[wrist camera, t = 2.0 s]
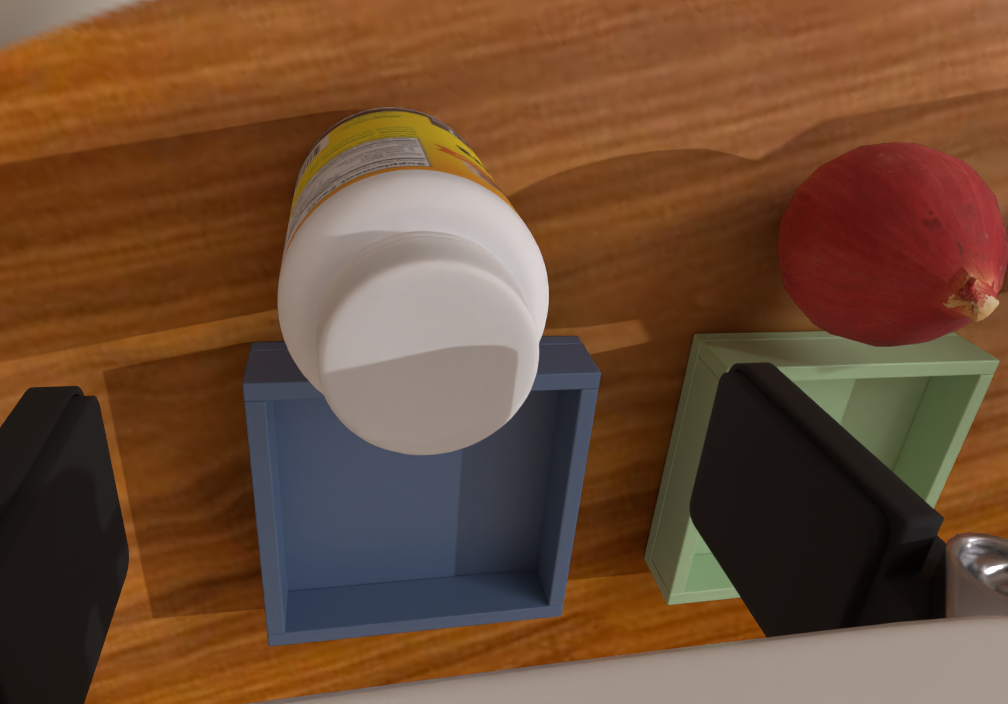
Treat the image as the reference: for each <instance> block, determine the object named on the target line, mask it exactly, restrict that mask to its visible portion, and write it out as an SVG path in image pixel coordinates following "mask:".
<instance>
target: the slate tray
mask: <svg viewBox="0 0 1008 704" xmlns="http://www.w3.org/2000/svg"><path fill="white" fill-rule="evenodd" d="M600 377H601V372H600V370H599V369H598V367H597V366H596V364H595V362H594V361H593V359H592V358H591V356H590V354H589V353H588V351H587V350H586V348H585V346H584V345H583V344H582V342H581V340H580V339H579V337H578V336H550V337H541V339H540V342H539V362H538V369H537V374H536V377H535V380H534V383H533V385H532V388H531V390H530V392H529V394H528V396H527V398H526V399H525V401H524V402H523V404H522V405H521V407H520V408H519V409H518V411H517V412H516V413H515V414H514V416H513V417H512V418H511V419H510V420H509V421H508V422H507V423H506V424H505V425H503V426H502V427H501V428H500V429H498V430H497V431H495V432H494V433H493V434H491V435H490V436H488V437H487V438H485V439H483V440H481V441H479V442H477V443H475V444H473V445H471V446H468V447H465V448H462V449H459V450H456V451H452V452H448V453H442V454H435V455H408V454H403V453H398V452H394V451H389V450H386V449H383V448H380V447H377V446H375V445H373V444H371V443H369V442H367V441H365V440H363V439H362V438H360V437H359V436H357V435H356V434H354V433H353V432H352V431H350V430H349V429H348V428H347V427H346V426H345V425H344V424H343V423H342V422H341V421H340V420H339V418H338V417H337V416H336V415H335V413H334V412H333V411H332V410H331V408H330V405H329V404H328V403H327V401H326V399H325V396H324V395H323V394H322V393H321V392H320V391H318V390H317V389H316V388H315V387H314V386H313V385H312V384H311V383H310V382H309V380H308V379H307V378H306V377H305V376H304V375H303V374H302V372H301V371H300V369H299V368H298V366H297V365H296V363H295V362H294V360H293V358H292V357H291V355H290V353H289V351H288V348H287V345H286V343H285V342H253V343H251V346H250V351H249V355H248V360H247V365H246V369H245V374H244V379H243V383H242V387H243V397H244V407H245V417H246V427H247V437H248V447H249V457H250V467H251V477H252V487H253V497H254V507H255V517H256V527H257V537H258V547H259V557H260V567H261V577H262V587H263V597H264V607H265V617H266V627H267V636H268V645H269V646H278V645H288V644H297V643H307V642H317V641H326V640H336V639H346V638H355V637H365V636H374V635H384V634H394V633H403V632H413V631H422V630H432V629H442V628H451V627H461V626H470V625H480V624H490V623H499V622H509V621H518V620H528V619H538V618H547V617H557V616H561V615H562V609H563V603H564V597H565V591H566V584H567V578H568V572H569V566H570V560H571V554H572V547H573V541H574V535H575V529H576V523H577V517H578V511H579V504H580V498H581V492H582V486H583V480H584V474H585V467H586V461H587V455H588V449H589V443H590V437H591V430H592V424H593V418H594V412H595V406H596V400H597V394H598V388H599V383H600Z"/></svg>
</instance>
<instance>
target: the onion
mask: <svg viewBox="0 0 1008 704" xmlns="http://www.w3.org/2000/svg"><path fill="white" fill-rule="evenodd" d="M777 250H778V259H779V265H780V269H781V274H782V279H783V284H784V288H785V290H786V291H787V293H788V294H789V295H790V297H791V298H792V299H793V301H794V302H795V304H796V305H797V306H798V307H799V308H800V309H801V310H802V311H803V313H804V314H805V315H806V316H807V317H808V318H809V319H810V320H811V322H812V323H813V324H814V325H816V326H818V327H819V328H821V329H823V330H824V331H826V332H828V333H829V334H832V335H835V336H839V337H842V338H846V339H850V340H853V341H857V342H860V343H864V344H867V345H871V346H875V347H894V346H902V345H911V344H920V343H924V342H929V341H932V340H935V339H937V338H940V337H942V336H944V335H946V334H949V333H951V332H953V331H956V330H958V329H960V328H963V327H964V326H966V325H967V324H968V323H970V322H971V321H972V320H974V321H976V322H977V321H980V320H982V319H985V318H986V317H987V316H989V315H990V314H991V313H992V312H993V311H994V310H995V308H996V307H997V306H998V304H999V300H998V292H999V291H1000V289H1001V288H1002V286H1003V281H1004V277H1005V273H1006V269H1007V264H1008V234H1007V231H1006V228H1005V225H1004V222H1003V219H1002V216H1001V213H1000V210H999V207H998V203H997V199H996V196H995V195H994V193H993V192H992V191H991V190H990V189H989V187H988V186H987V185H986V184H985V183H984V181H983V180H982V179H981V178H980V176H979V175H978V174H977V173H976V172H975V171H974V170H973V169H972V168H971V167H970V166H969V165H968V164H966V163H965V162H964V161H963V160H961V159H958V158H956V157H953V156H951V155H948V154H945V153H943V152H940V151H937V150H934V149H931V148H928V147H925V146H922V145H919V144H916V143H896V142H892V143H884V144H875V145H866V146H860V147H858V148H856V149H854V150H851V151H849V152H847V153H845V154H843V155H841V156H839V157H837V158H835V159H833V160H832V161H830V162H828V163H826V164H824V165H822V166H820V167H819V168H818V169H817V170H816V171H815V172H814V173H813V174H812V175H811V176H810V177H809V178H808V179H807V180H806V181H805V182H804V183H803V184H802V185H801V186H800V187H799V188H798V189H797V190H796V192H795V193H794V195H793V197H792V199H791V201H790V203H789V205H788V207H787V208H786V210H785V212H784V214H783V216H782V218H781V222H780V230H779V237H778V245H777Z"/></svg>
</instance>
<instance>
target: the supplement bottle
mask: <svg viewBox="0 0 1008 704" xmlns="http://www.w3.org/2000/svg"><path fill="white" fill-rule="evenodd" d="M548 303H549V286H548V277H547V273H546V268H545V264H544V261H543V257H542V255H541V252H540V250H539V247H538V245H537V243H536V242H535V240H534V238H533V236H532V234H531V232H530V231H529V229H528V228H527V226H526V225H525V223H524V222H523V220H522V219H521V217H520V216H519V214H518V213H517V212H516V210H515V209H514V208H513V206H512V205H511V203H510V202H509V201H508V199H507V198H506V196H505V195H504V193H503V192H502V191H501V189H500V188H499V187H498V185H497V184H496V182H495V180H494V179H493V178H492V177H491V175H490V174H489V173H488V171H487V170H486V169H485V167H484V166H483V164H482V163H481V162H480V160H479V159H478V157H477V156H476V155H475V153H474V152H473V150H472V149H471V148H470V147H469V146H468V144H467V143H466V142H465V141H464V140H463V139H462V138H461V137H460V136H459V135H458V134H457V133H456V132H455V131H454V130H452V129H451V128H450V127H448V126H447V125H446V124H444V123H443V122H441V121H439V120H437V119H436V118H434V117H432V116H429V115H427V114H424V113H422V112H418V111H414V110H410V109H404V108H393V107H386V108H376V109H370V110H366V111H362V112H359V113H356V114H354V115H351V116H349V117H347V118H345V119H343V120H341V121H340V122H338V123H337V124H335V125H334V126H332V127H331V128H330V129H329V130H327V131H326V132H325V133H324V134H323V135H322V136H321V137H320V138H319V139H318V140H317V142H316V143H315V144H314V145H313V147H312V148H311V150H310V151H309V153H308V154H307V156H306V158H305V160H304V162H303V164H302V166H301V169H300V171H299V175H298V179H297V182H296V187H295V192H294V197H293V202H292V207H291V213H290V218H289V224H288V229H287V235H286V242H285V247H284V253H283V259H282V264H281V270H280V276H279V284H278V314H279V322H280V327H281V331H282V334H283V338H284V341H285V343H286V345H287V348H288V351H289V353H290V355H291V357H292V358H293V360H294V362H295V363H296V365H297V366H298V368H299V369H300V371H301V372H302V374H303V375H304V376H305V377H306V378H307V379H308V380H309V382H310V383H311V384H312V385H313V386H314V387H315V388H316V389H317V390H318V391H320V392H321V393H322V394H323V395H324V396H325V399H326V401H327V403H328V404H329V405H330V408H331V410H332V411H333V412H334V413H335V415H336V416H337V417H338V418H339V420H340V421H341V422H342V423H343V424H344V425H345V426H346V427H347V428H348V429H349V430H350V431H352V432H353V433H354V434H356V435H357V436H359V437H360V438H362V439H363V440H365V441H367V442H369V443H371V444H373V445H375V446H377V447H380V448H383V449H386V450H389V451H394V452H398V453H403V454H408V455H435V454H442V453H448V452H452V451H456V450H459V449H462V448H465V447H468V446H471V445H473V444H475V443H477V442H479V441H481V440H483V439H485V438H487V437H488V436H490V435H491V434H493V433H494V432H495V431H497V430H498V429H500V428H501V427H502V426H503V425H505V424H506V423H507V422H508V421H509V420H510V419H511V418H512V417H513V416H514V414H515V413H516V412H517V411H518V409H519V408H520V407H521V405H522V404H523V402H524V401H525V399H526V398H527V396H528V394H529V392H530V390H531V388H532V385H533V383H534V380H535V377H536V374H537V369H538V362H539V342H540V339H541V337H542V334H543V331H544V327H545V323H546V318H547V313H548Z"/></svg>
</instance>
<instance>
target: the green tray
mask: <svg viewBox="0 0 1008 704" xmlns="http://www.w3.org/2000/svg"><path fill="white" fill-rule="evenodd" d="M760 362H770V363H771V364H773V365H775V366H776V367H777V368H778V369H779V370H780V371H781V372H782V373H783V374H785V375H786V376H787V377H788V378H789V379H790V380H791V381H792V382H793V383H795V384H796V385H797V386H798V387H799V388H800V389H801V390H802V391H803V392H805V393H806V394H807V395H808V396H809V397H810V398H811V399H812V400H813V401H815V402H816V403H817V404H818V405H819V406H820V407H821V408H822V409H823V410H825V411H826V412H827V413H828V414H829V415H830V416H831V417H832V418H833V419H835V420H836V421H837V422H838V423H839V424H840V425H841V426H842V427H843V428H845V429H846V430H847V431H848V432H849V433H850V434H851V435H852V436H853V437H855V438H856V439H857V440H858V441H859V442H860V443H861V444H862V445H863V446H864V447H866V448H867V449H868V450H869V451H870V452H871V453H872V454H873V455H874V456H876V457H877V458H878V459H879V460H880V461H881V462H882V463H883V464H884V465H886V466H887V467H888V468H889V469H890V470H891V471H892V472H893V473H894V474H896V475H897V476H898V477H899V478H900V479H901V480H902V481H903V482H904V483H906V484H907V485H908V486H909V487H910V488H911V489H912V490H913V491H914V492H916V493H917V494H918V495H919V496H920V497H921V498H922V499H923V500H924V501H926V502H927V503H928V504H929V505H930V506H931V507H932V508H933V509H934V507H935V504H936V502H937V500H938V498H939V495H940V493H941V491H942V489H943V487H944V484H945V482H946V480H947V478H948V475H949V473H950V471H951V469H952V467H953V464H954V462H955V460H956V458H957V455H958V453H959V451H960V449H961V447H962V444H963V442H964V440H965V438H966V435H967V433H968V431H969V429H970V426H971V424H972V422H973V420H974V418H975V415H976V413H977V411H978V409H979V406H980V404H981V402H982V400H983V398H984V395H985V393H986V391H987V389H988V386H989V384H990V382H991V380H992V378H993V374H994V373H995V371H996V368H997V366H998V364H999V360H998V359H997V358H995V357H994V356H992V355H990V354H989V353H987V352H985V351H984V350H982V349H981V348H979V347H977V346H976V345H974V344H973V343H971V342H969V341H968V340H966V339H964V338H963V337H961V336H959V335H958V334H956V333H955V332H951V333H949V334H946V335H944V336H942V337H940V338H937V339H935V340H932V341H929V342H924V343H920V344H911V345H902V346H894V347H875V346H871V345H867V344H864V343H860V342H857V341H853V340H850V339H846V338H842V337H839V336H835V335H832V334H829V333H828V332H826V331H806V332H756V333H705V334H694V337H693V342H692V346H691V351H690V355H689V360H688V364H687V369H686V373H685V378H684V382H683V387H682V391H681V395H680V400H679V404H678V409H677V413H676V418H675V422H674V427H673V431H672V436H671V440H670V445H669V449H668V453H667V458H666V462H665V467H664V471H663V476H662V480H661V485H660V489H659V494H658V498H657V503H656V507H655V511H654V516H653V520H652V525H651V529H650V534H649V538H648V543H647V547H646V552H645V556H644V560H645V562H646V564H647V566H648V567H649V570H650V572H651V574H652V576H653V578H654V580H655V582H656V583H657V585H658V587H659V589H660V591H661V593H662V595H663V597H664V599H665V601H666V603H667V605H672V604H682V603H692V602H701V601H711V600H720V599H730V598H740V595H739V594H738V592H737V591H736V589H735V588H734V586H733V585H732V583H731V582H730V580H729V579H728V577H727V576H726V574H725V572H724V571H723V569H722V568H721V566H720V565H719V563H718V562H717V560H716V559H715V557H714V556H713V554H712V552H711V551H710V549H709V548H708V546H707V545H706V543H705V542H704V540H703V539H702V537H701V536H700V534H699V533H698V531H697V529H696V528H695V526H694V525H693V523H692V520H691V517H690V507H689V505H690V499H691V495H692V491H693V487H694V483H695V478H696V474H697V470H698V466H699V462H700V458H701V453H702V449H703V445H704V441H705V437H706V433H707V429H708V424H709V420H710V416H711V412H712V408H713V404H714V399H715V395H716V391H717V387H718V383H719V380H720V377H721V376H722V374H724V373H725V372H729V369H730V368H731V367H732V365H734V364H736V363H760Z"/></svg>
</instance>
